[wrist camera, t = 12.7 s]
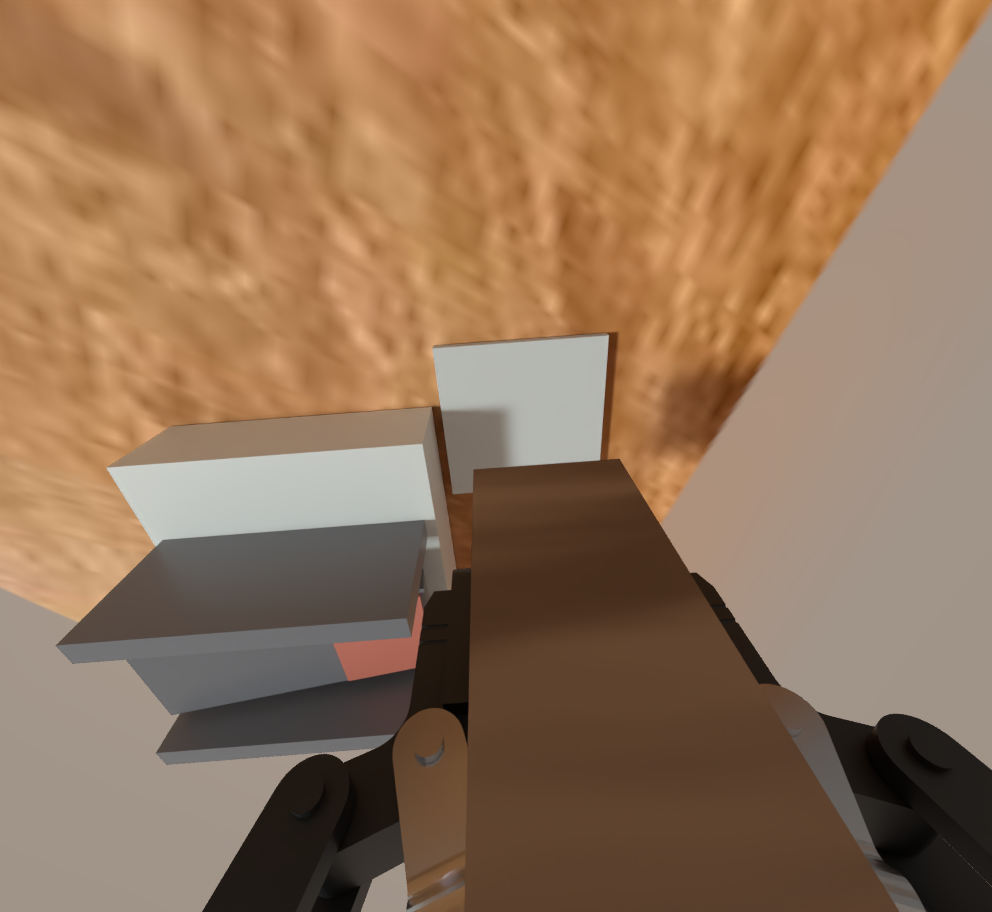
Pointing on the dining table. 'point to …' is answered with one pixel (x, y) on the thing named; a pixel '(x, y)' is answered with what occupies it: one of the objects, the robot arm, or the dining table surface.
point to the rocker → (274, 668)
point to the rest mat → (521, 402)
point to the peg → (626, 724)
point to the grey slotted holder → (279, 567)
